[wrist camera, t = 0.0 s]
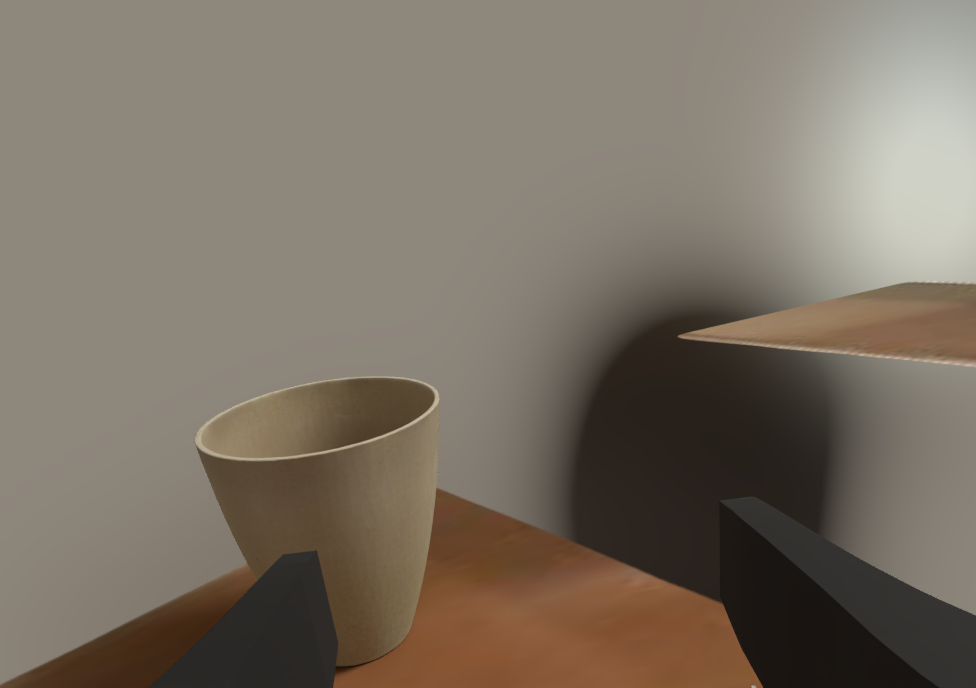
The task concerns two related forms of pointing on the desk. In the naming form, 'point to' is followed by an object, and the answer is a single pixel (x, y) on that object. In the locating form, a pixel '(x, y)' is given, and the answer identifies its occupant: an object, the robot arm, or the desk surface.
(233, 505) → the plant pot
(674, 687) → the desk surface
